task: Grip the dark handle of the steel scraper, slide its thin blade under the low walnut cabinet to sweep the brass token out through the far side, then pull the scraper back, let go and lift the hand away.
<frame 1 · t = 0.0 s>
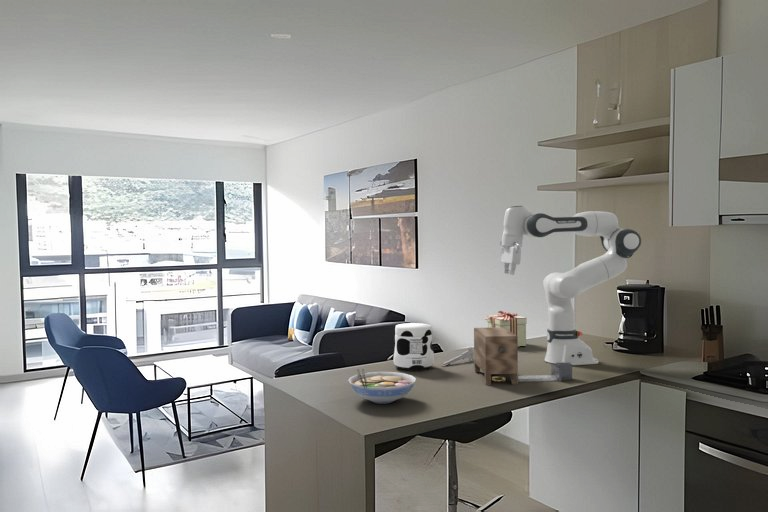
hand: (509, 274, 254), 39 cm above the counter, tool pointing down, fingers open, 8 cm apart
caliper: (457, 364, 254), on the counter
token: (498, 381, 223), on the counter
ramen bowl: (382, 401, 195), on the counter
scraper: (564, 378, 224), on the counter
milk container: (413, 368, 246), on the counter
cabinet: (494, 377, 227), on the counter
gift box: (505, 346, 295), on the counter
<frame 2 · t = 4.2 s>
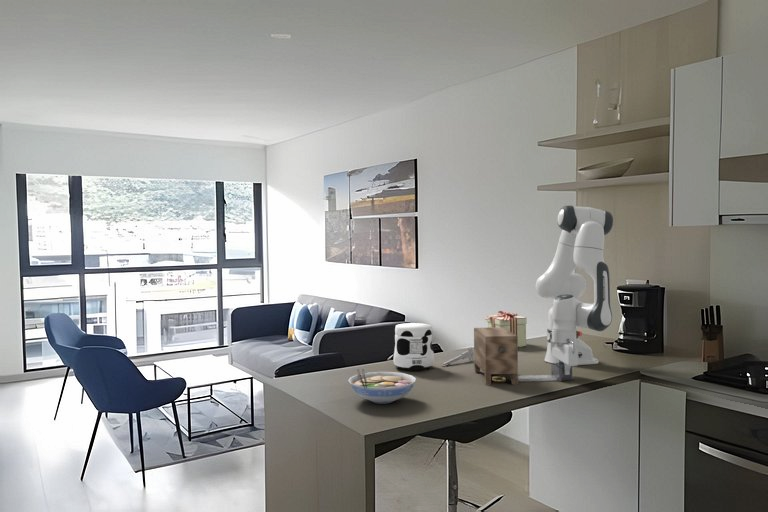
hand: (564, 372, 224), 2 cm above the counter, tool pointing down, fingers closed on scraper, 3 cm apart
scraper: (564, 378, 224), on the counter, touching gripper
everything else where it was.
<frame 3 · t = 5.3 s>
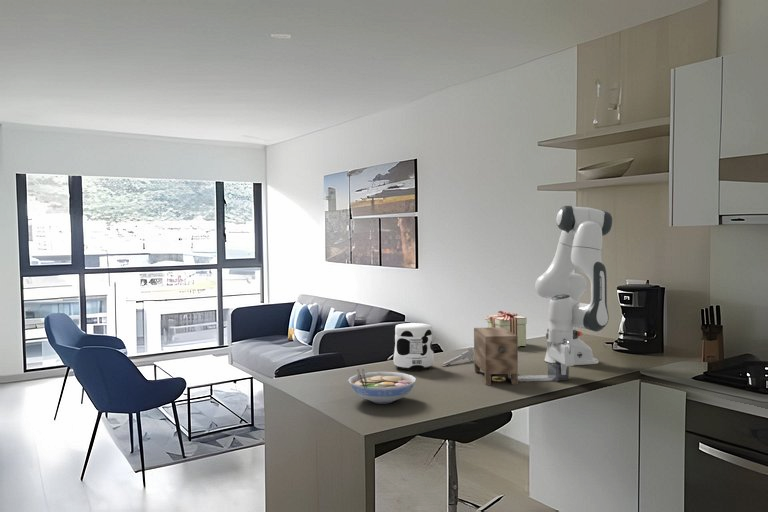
hand: (560, 373, 224), 2 cm above the counter, tool pointing down, fingers closed on scraper, 3 cm apart
scraper: (560, 378, 224), on the counter, touching gripper
everything else where it was.
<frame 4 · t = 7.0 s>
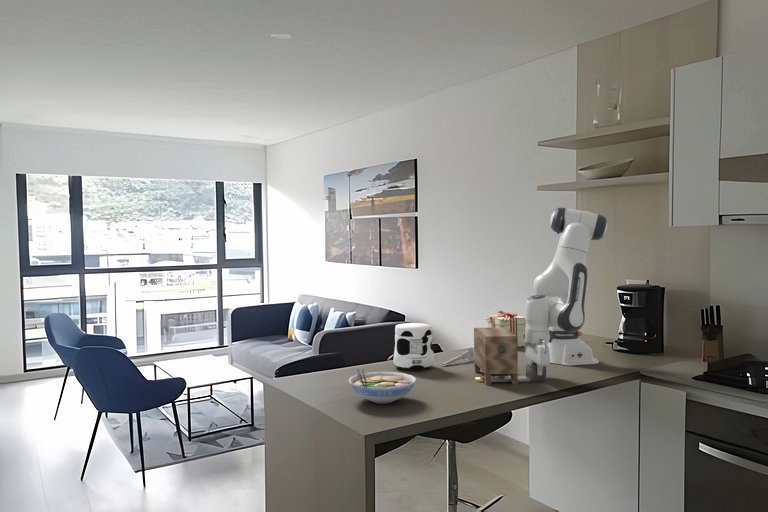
hand: (537, 373, 223), 2 cm above the counter, tool pointing down, fingers closed on scraper, 3 cm apart
token: (481, 380, 222), on the counter, touching scraper
scraper: (538, 379, 223), on the counter, touching gripper, token
everything else where it was.
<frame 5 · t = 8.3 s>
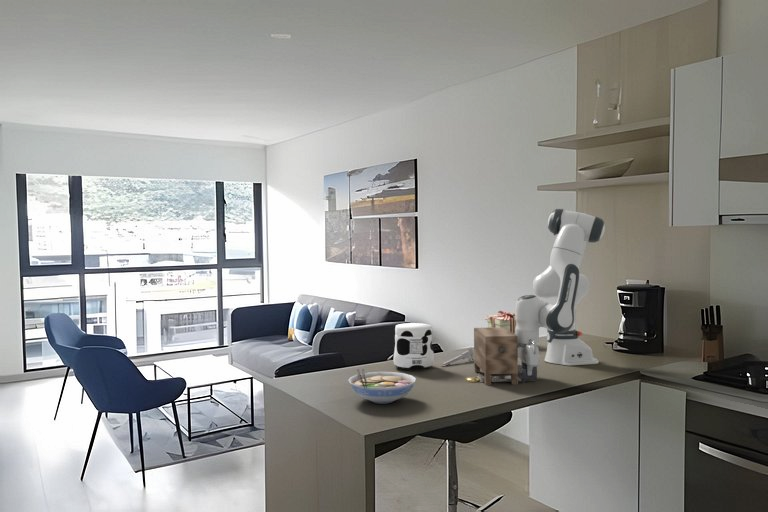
hand: (527, 373, 223), 2 cm above the counter, tool pointing down, fingers closed on scraper, 3 cm apart
token: (472, 381, 222), on the counter
scraper: (529, 379, 223), on the counter, touching gripper
everything else where it was.
when the fingers open (2 cm above the counter, at t = 10.8 s): scraper stays where it is, on the counter.
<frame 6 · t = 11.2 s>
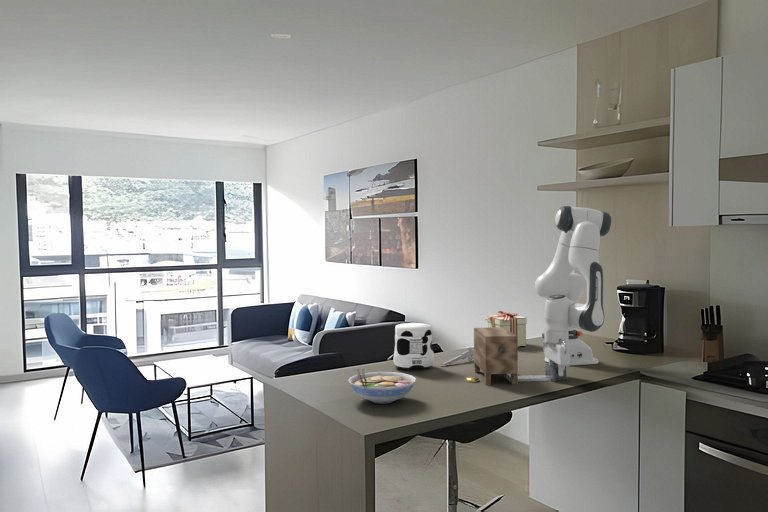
hand: (556, 373, 224), 2 cm above the counter, tool pointing down, fingers open, 7 cm apart
scraper: (558, 379, 224), on the counter
everything else where it was.
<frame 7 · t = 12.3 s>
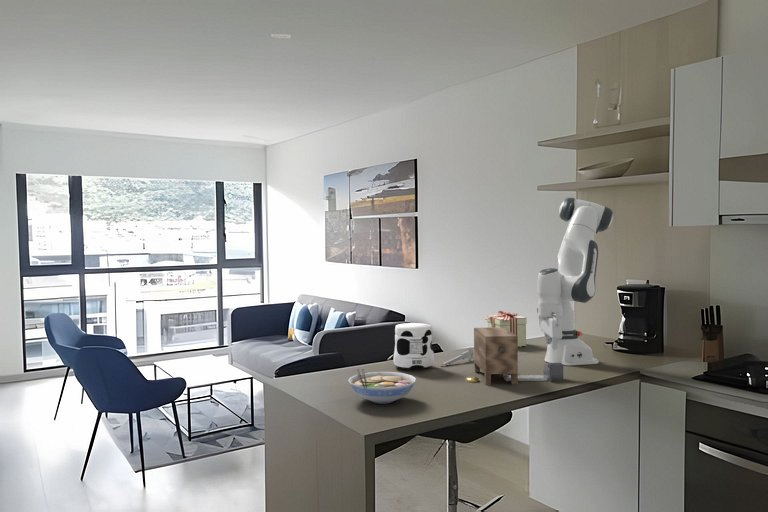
hand: (551, 346, 225), 12 cm above the counter, tool pointing down, fingers open, 8 cm apart
scraper: (555, 379, 223), on the counter
everything else where it was.
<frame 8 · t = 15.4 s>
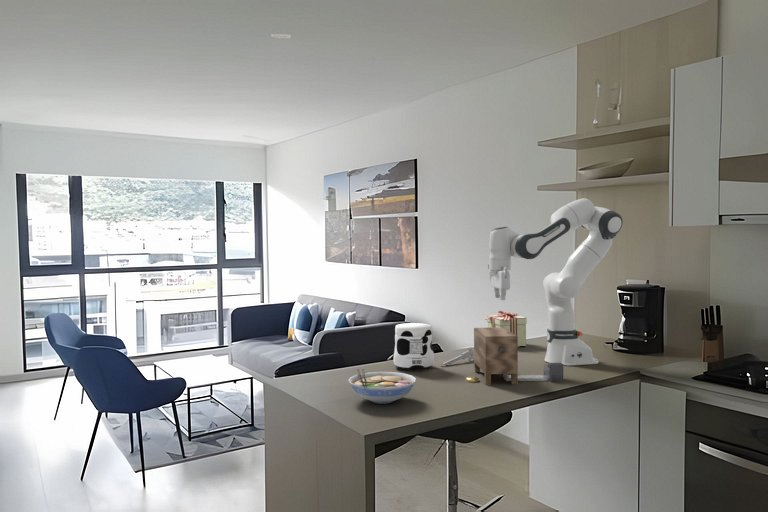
hand: (500, 299, 242), 29 cm above the counter, tool pointing down, fingers open, 8 cm apart
nothing on the counter moved.
at the end: token inside the target area (6.3 cm from its centre), on the counter; the gripper is holding nothing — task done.
